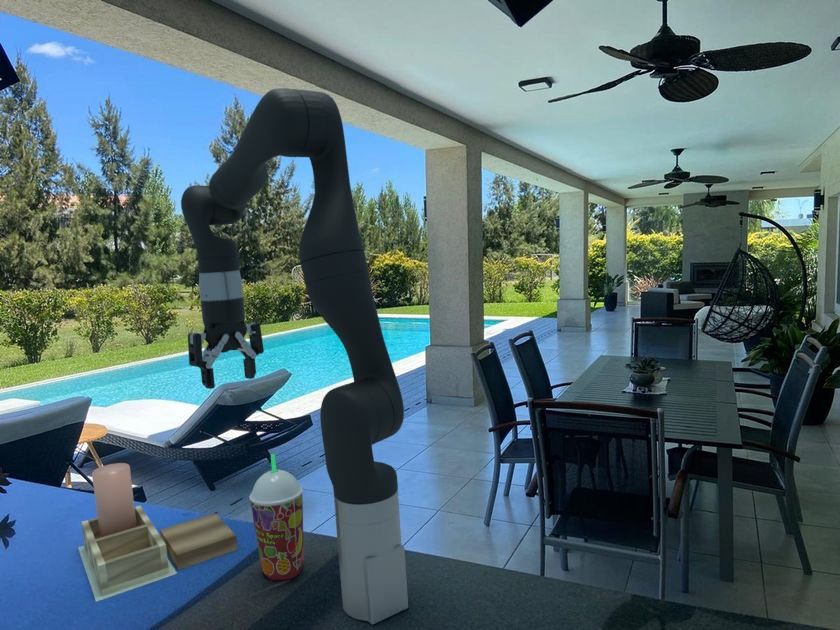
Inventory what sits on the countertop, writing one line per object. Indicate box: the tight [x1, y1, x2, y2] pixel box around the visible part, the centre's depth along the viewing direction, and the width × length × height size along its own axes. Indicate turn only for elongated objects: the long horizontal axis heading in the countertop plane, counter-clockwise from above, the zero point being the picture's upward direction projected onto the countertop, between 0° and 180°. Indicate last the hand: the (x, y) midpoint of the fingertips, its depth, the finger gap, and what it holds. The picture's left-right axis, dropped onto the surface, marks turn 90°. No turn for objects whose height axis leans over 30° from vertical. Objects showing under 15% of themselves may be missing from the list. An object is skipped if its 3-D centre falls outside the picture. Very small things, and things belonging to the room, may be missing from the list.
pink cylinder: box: [91, 462, 137, 538], centre depth 110 cm, size 6×6×14 cm
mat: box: [78, 545, 178, 603], centre depth 107 cm, size 22×12×1 cm, turn 35°
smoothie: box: [248, 453, 305, 582], centre depth 99 cm, size 8×8×20 cm
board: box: [159, 512, 238, 571], centre depth 110 cm, size 12×10×3 cm
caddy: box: [81, 505, 169, 596], centre depth 107 cm, size 20×10×5 cm, turn 35°
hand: (230, 383), depth 115 cm, fingers open, 8 cm apart
